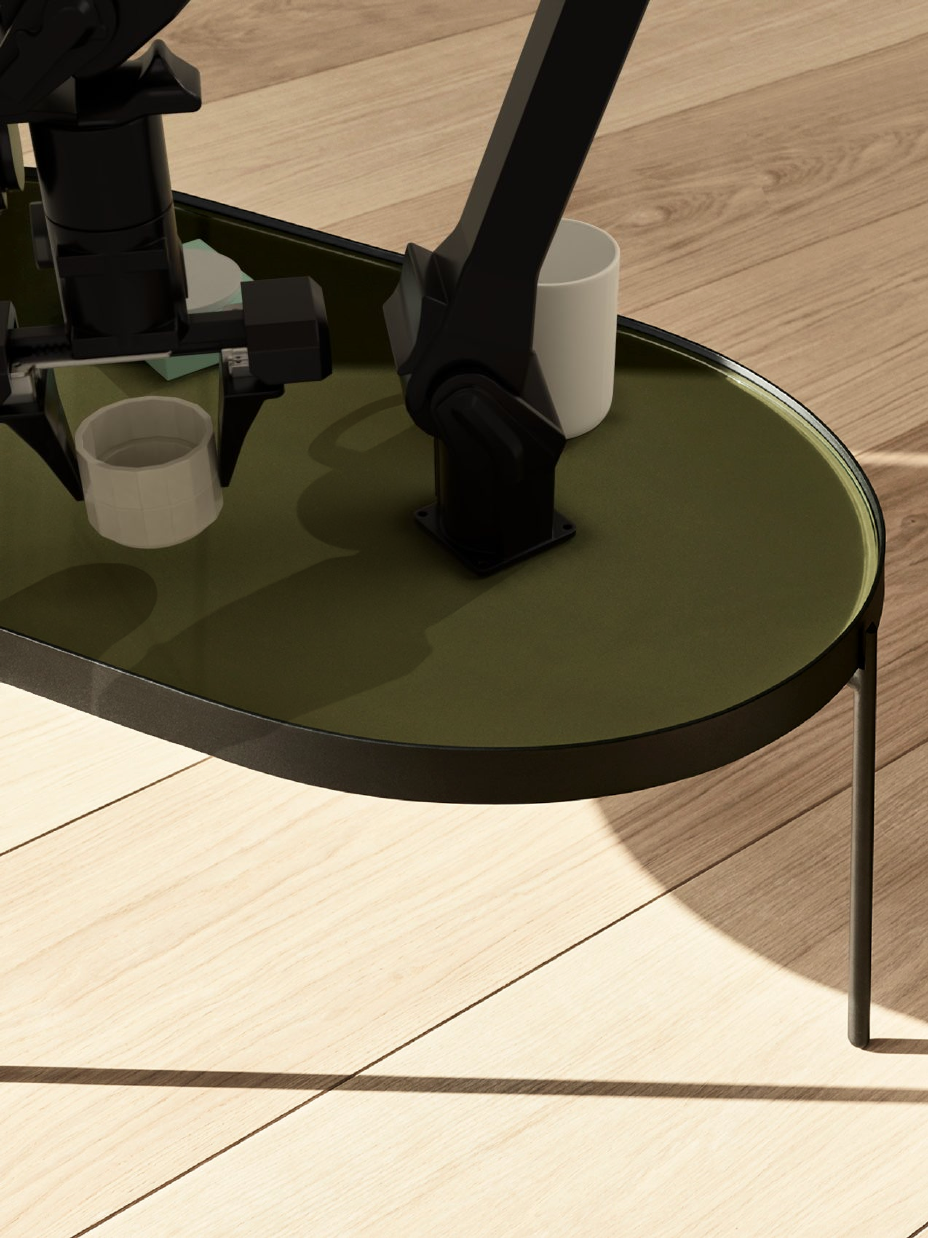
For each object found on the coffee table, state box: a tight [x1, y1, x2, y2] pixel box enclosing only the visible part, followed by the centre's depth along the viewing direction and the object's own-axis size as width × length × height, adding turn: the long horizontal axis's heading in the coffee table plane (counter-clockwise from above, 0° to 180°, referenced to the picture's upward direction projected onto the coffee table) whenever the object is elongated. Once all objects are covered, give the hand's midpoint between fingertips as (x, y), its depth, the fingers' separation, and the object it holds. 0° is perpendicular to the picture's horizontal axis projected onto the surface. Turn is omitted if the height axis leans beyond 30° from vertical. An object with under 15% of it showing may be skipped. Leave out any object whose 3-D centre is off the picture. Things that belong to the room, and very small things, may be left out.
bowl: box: [73, 395, 224, 550], centre depth 85 cm, size 7×7×5 cm
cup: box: [532, 217, 621, 440], centre depth 97 cm, size 8×12×10 cm
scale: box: [144, 238, 255, 381], centre depth 107 cm, size 12×9×3 cm
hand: (153, 489), depth 85 cm, fingers closed on bowl, 7 cm apart
